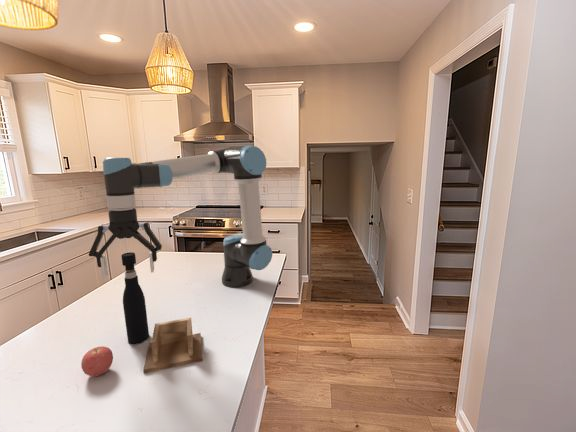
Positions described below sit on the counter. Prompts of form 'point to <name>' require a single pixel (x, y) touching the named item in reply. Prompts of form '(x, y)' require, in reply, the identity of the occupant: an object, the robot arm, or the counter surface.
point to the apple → (97, 361)
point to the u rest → (173, 346)
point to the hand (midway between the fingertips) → (129, 273)
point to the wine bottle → (134, 303)
